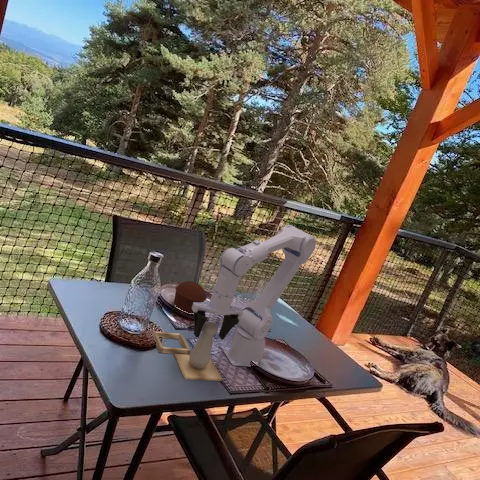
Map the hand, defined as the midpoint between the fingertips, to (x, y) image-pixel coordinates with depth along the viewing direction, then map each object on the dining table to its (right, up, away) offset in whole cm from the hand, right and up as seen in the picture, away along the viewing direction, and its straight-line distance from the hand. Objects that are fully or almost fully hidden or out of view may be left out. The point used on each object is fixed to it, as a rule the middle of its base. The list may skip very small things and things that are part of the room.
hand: (208, 336), depth 125 cm
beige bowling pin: (-3, -9, +3) cm, 10 cm away
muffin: (-11, +2, +37) cm, 38 cm away
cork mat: (-3, -9, +2) cm, 10 cm away
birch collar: (-12, -4, +9) cm, 16 cm away
